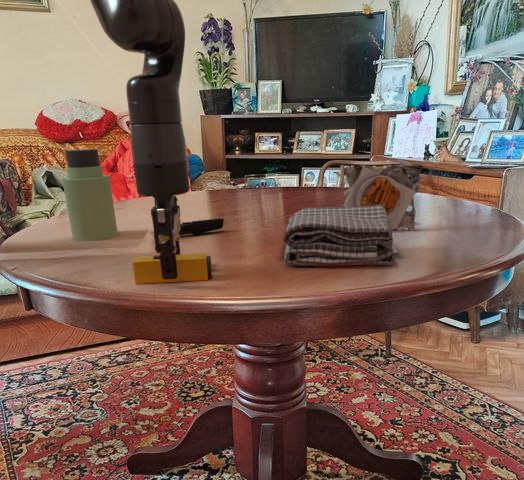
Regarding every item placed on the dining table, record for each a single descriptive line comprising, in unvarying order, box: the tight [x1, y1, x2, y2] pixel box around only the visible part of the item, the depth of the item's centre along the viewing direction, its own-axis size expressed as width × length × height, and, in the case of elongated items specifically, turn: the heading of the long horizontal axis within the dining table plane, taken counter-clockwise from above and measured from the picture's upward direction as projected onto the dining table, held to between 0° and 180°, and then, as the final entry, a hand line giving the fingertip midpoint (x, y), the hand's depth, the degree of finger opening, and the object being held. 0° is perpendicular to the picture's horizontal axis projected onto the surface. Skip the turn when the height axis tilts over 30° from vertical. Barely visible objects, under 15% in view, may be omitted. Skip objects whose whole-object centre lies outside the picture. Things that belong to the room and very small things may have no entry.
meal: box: [341, 164, 424, 230], centre depth 105 cm, size 15×4×13 cm, turn 90°
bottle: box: [61, 148, 119, 242], centre depth 102 cm, size 9×9×18 cm
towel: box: [282, 205, 399, 267], centre depth 87 cm, size 15×18×8 cm
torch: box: [132, 252, 213, 285], centre depth 78 cm, size 12×3×4 cm, turn 95°
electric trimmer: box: [153, 217, 225, 239], centre depth 109 cm, size 4×16×3 cm, turn 117°
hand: (172, 271), depth 79 cm, fingers open, 8 cm apart
